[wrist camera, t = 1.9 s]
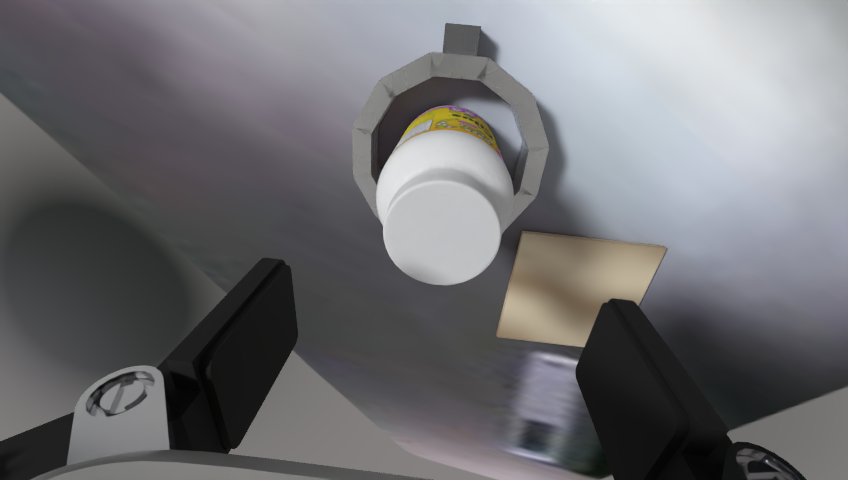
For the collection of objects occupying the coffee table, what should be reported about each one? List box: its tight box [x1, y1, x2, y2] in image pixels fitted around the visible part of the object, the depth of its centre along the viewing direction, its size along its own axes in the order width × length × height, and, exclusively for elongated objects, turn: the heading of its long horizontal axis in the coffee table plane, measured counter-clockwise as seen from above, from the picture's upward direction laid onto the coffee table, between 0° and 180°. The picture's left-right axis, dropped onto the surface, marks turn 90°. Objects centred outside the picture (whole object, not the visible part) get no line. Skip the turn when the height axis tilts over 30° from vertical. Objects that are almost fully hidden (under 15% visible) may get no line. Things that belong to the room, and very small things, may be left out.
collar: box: [352, 23, 549, 230], centre depth 24 cm, size 15×12×2 cm
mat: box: [496, 231, 667, 347], centre depth 30 cm, size 11×11×1 cm
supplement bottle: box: [376, 106, 514, 285], centre depth 19 cm, size 7×7×13 cm
